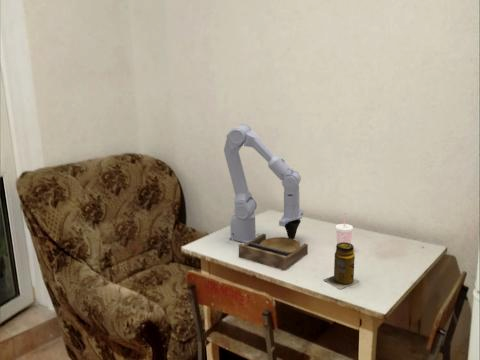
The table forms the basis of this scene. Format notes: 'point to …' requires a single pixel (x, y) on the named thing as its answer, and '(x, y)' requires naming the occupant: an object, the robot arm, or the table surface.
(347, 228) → the beverage cup
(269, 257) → the brown wooden open box
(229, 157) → the robot arm
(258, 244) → the pusher plate
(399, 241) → the table surface
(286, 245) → the plant saucer
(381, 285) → the table surface
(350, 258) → the condiment
